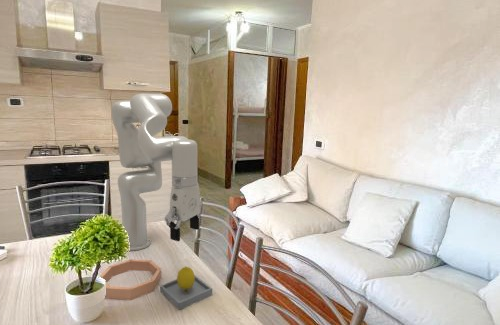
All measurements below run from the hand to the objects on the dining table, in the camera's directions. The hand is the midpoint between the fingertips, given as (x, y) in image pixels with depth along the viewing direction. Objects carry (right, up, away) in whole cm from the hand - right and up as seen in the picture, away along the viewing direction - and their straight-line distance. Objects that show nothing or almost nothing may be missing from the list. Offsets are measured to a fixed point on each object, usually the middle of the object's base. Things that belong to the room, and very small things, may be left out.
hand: (185, 234), depth 101 cm
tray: (0, -20, +4) cm, 20 cm away
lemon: (0, -19, +4) cm, 19 cm away
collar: (-20, -18, +9) cm, 29 cm away
